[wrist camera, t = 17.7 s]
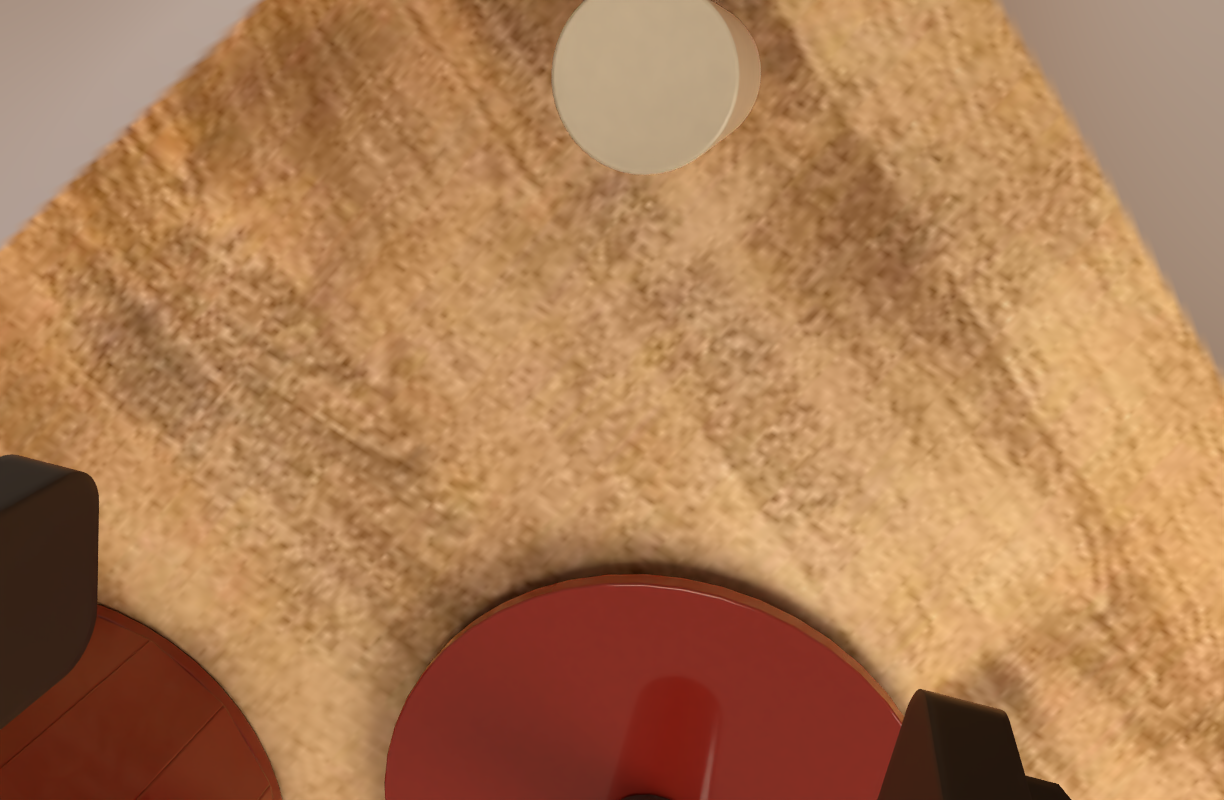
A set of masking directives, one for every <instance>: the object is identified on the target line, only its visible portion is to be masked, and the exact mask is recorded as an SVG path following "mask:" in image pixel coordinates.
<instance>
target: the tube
mask: <svg viewBox="0 0 1224 800" xmlns="http://www.w3.org/2000/svg"><path fill="white" fill-rule="evenodd" d="M760 82H761V63H760V58H759V53H758V50H757V47H756V44H755V42H754V40H753V38H752V36H751V34H750V33H749V31H748V30H747V28H746V27H745V26H744V24H743V23H742V22H741V21H740V20H739V19H738V18H737V17H735V16H734V15H733V14H732V13H730V12H729V11H727V10H726V9H724V8H722V7H721V6H719V5H718V4H716V3H715V2H713V1H711V0H584V1H583V2H582V3H581V4H580V5H579V6H578V7H577V8H576V9H575V11H574V12H573V13H572V15H571V16H570V18H569V19H568V20H567V22H566V24H565V26H564V28H563V29H562V31H561V34H560V36H559V39H558V41H557V44H556V48H555V51H554V55H553V62H552V90H553V97H554V101H555V105H556V108H557V111H558V114H559V116H560V119H561V121H562V123H563V125H564V127H565V128H566V130H567V132H568V133H569V135H570V136H571V137H572V139H573V140H574V141H575V142H576V144H577V145H578V146H579V147H580V148H581V149H582V150H583V151H584V152H586V153H587V154H588V155H589V156H590V157H592V158H593V159H595V160H596V161H598V162H599V163H601V164H603V165H605V166H607V167H609V168H611V169H614V170H617V171H620V172H623V173H629V174H634V175H654V174H661V173H666V172H670V171H673V170H676V169H678V168H681V167H683V166H685V165H687V164H689V163H691V162H693V161H694V160H696V159H697V158H698V157H700V156H701V155H702V154H704V153H705V152H707V151H708V150H709V149H711V148H712V147H713V146H715V145H716V144H717V143H719V142H720V141H721V140H723V139H724V138H725V137H727V136H728V135H729V134H731V133H732V132H733V131H735V130H736V129H737V128H738V127H739V126H740V125H741V124H742V122H743V121H744V120H745V119H746V118H747V116H748V114H749V113H750V111H751V110H752V108H753V106H754V103H755V101H756V98H757V95H758V92H759V87H760Z"/></svg>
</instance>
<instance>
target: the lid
mask: <svg viewBox="0 0 1224 800" xmlns="http://www.w3.org/2000/svg"><path fill="white" fill-rule="evenodd" d="M903 719H904V716H903V715H902V713H901V712H900V710H899V709H898V708H897V706H896V705H895V703H894V702H893V701H892V699H891V698H890V696H889V695H888V694H887V692H886V691H885V690H884V689H883V688H882V687H881V686H880V685H879V684H878V683H877V682H876V681H875V679H874V678H873V677H872V676H871V675H870V674H869V673H868V672H867V671H866V670H865V669H864V668H863V667H862V666H861V664H859V663H858V662H857V661H856V660H854V659H853V658H852V657H851V656H850V655H848V654H847V653H846V652H845V651H844V650H842V649H841V648H840V647H839V646H838V645H836V644H835V643H834V642H833V641H832V640H830V639H829V638H827V637H826V636H824V635H823V634H821V633H820V632H818V631H817V630H815V629H813V628H812V627H810V626H809V625H807V624H806V623H804V622H803V621H801V620H800V619H798V618H796V617H794V616H792V615H790V614H788V613H786V612H784V611H782V610H780V609H778V608H776V607H774V606H772V605H770V604H768V603H766V602H764V601H762V600H759V599H756V598H753V597H750V596H748V595H745V594H742V593H739V592H736V591H733V590H731V589H728V588H725V587H722V586H717V585H713V584H708V583H704V582H699V581H695V580H690V579H686V578H679V577H669V576H660V575H650V574H612V575H600V576H593V577H586V578H579V579H572V580H567V581H564V582H560V583H556V584H553V585H549V586H545V587H542V588H538V589H535V590H532V591H530V592H528V593H525V594H523V595H520V596H518V597H516V598H513V599H511V600H509V601H506V602H504V603H502V604H500V605H499V606H497V607H495V608H494V609H492V610H490V611H489V612H487V613H485V614H484V615H482V616H481V617H479V618H477V619H476V620H474V621H473V622H472V623H470V624H469V625H468V626H467V627H466V628H464V629H463V630H462V631H461V632H459V633H458V634H457V635H456V636H455V637H453V638H452V639H451V640H450V641H449V642H448V643H447V644H446V645H445V646H444V648H443V649H442V650H441V651H440V652H439V653H438V654H437V655H436V657H435V658H434V659H433V660H432V661H431V662H430V663H429V665H428V666H427V668H426V669H425V671H424V672H423V674H422V675H421V677H420V678H419V680H418V682H417V683H416V685H415V686H414V688H413V689H412V691H411V692H410V694H409V696H408V697H407V699H406V701H405V703H404V706H403V708H402V710H401V713H400V715H399V717H398V720H397V722H396V724H395V727H394V731H393V735H392V739H391V742H390V746H389V750H388V754H387V764H386V774H385V800H877V799H878V796H879V793H880V790H881V787H882V784H883V781H884V777H885V774H886V771H887V768H888V765H889V762H890V759H891V756H892V753H893V750H894V747H895V744H896V741H897V738H898V735H899V731H900V728H901V725H902V722H903Z"/></svg>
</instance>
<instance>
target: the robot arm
mask: <svg viewBox="0 0 1224 800" xmlns="http://www.w3.org/2000/svg"><path fill="white" fill-rule="evenodd" d="M98 526H99V495H98V490H97V486H96V484H95V482H94V480H93V479H92V477H91V476H89V475H88V474H87V473H84V472H81V471H77V470H73V469H69V468H65V467H62V466H58V465H54V464H50V463H46V462H42V461H38V460H34V459H30V458H27V457H23V456H19V455H5V456H2V457H0V730H1V729H2V728H3V727H5V726H6V725H7V724H8V723H9V722H11V721H12V720H13V719H14V718H15V717H17V716H18V715H19V714H20V713H21V712H23V711H24V710H25V709H26V708H28V707H29V706H30V705H31V704H32V703H34V702H35V701H36V700H37V699H38V698H40V697H41V696H42V695H43V694H44V693H46V692H47V691H48V690H49V689H51V688H52V687H53V686H54V685H55V684H57V683H58V682H59V681H60V680H61V679H63V678H64V677H65V676H66V675H67V674H68V673H69V672H70V671H71V670H72V669H73V668H74V667H75V665H76V664H77V663H78V661H79V660H80V658H81V657H82V655H83V653H84V651H85V650H86V648H87V646H88V643H89V641H90V639H91V636H92V633H93V630H94V626H95V622H96V617H97V588H98ZM877 800H1071V799H1070V798H1069V796H1068V795H1067V794H1066V793H1065V792H1064V790H1063V789H1062V788H1061V787H1060V785H1059V784H1056V783H1052V782H1048V781H1044V780H1041V779H1037V778H1033V777H1029V776H1025V773H1024V769H1023V766H1022V762H1021V759H1020V756H1019V752H1018V749H1017V745H1016V742H1015V738H1014V735H1013V731H1012V728H1011V725H1010V721H1009V718H1008V716H1007V714H1006V713H1005V712H1004V711H1003V710H1000V709H997V708H993V707H989V706H985V705H981V704H977V703H973V702H969V701H965V700H961V699H958V698H954V697H950V696H946V695H942V694H938V693H934V692H930V691H926V690H922V689H919V690H917V691H916V692H915V694H914V695H913V697H912V699H911V700H910V703H909V705H908V708H907V710H906V713H905V716H904V719H903V722H902V725H901V728H900V731H899V735H898V738H897V741H896V744H895V747H894V750H893V753H892V756H891V759H890V762H889V765H888V768H887V771H886V774H885V777H884V781H883V784H882V787H881V790H880V793H879V796H878V799H877Z"/></svg>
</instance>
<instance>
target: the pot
mask: <svg viewBox="0 0 1224 800" xmlns="http://www.w3.org/2000/svg"><path fill="white" fill-rule="evenodd" d="M0 800H282V797H281V792H280V788H279V785H278V782H277V780H276V777H275V774H274V771H273V769H272V766H271V763H270V761H269V759H268V757H267V755H266V753H265V751H264V749H263V747H262V745H261V743H260V741H259V739H258V737H257V735H256V733H255V732H254V730H253V729H252V727H251V726H250V724H249V723H248V721H247V720H246V718H245V717H244V715H243V714H242V712H241V711H240V709H239V708H238V707H237V706H236V704H235V703H234V702H233V701H232V699H231V698H230V697H229V696H228V695H227V693H226V692H225V691H224V690H223V689H222V687H221V686H220V685H219V684H218V683H217V682H216V681H215V680H214V679H213V678H212V677H211V676H210V675H209V674H208V673H207V672H206V671H205V670H204V669H203V668H202V667H201V666H200V665H199V664H198V663H197V662H195V661H194V660H193V659H192V658H190V657H189V656H188V655H186V654H185V653H184V652H183V651H181V650H180V649H179V648H178V647H176V646H175V645H174V644H173V643H171V642H170V641H168V640H167V639H165V638H164V637H162V636H160V635H159V634H157V633H156V632H154V631H153V630H151V629H150V628H148V627H146V626H145V625H143V624H141V623H139V622H137V621H135V620H133V619H131V618H129V617H127V616H125V615H123V614H121V613H119V612H117V611H114V610H111V609H109V608H106V607H103V606H101V605H98V604H97V617H96V622H95V626H94V630H93V633H92V636H91V639H90V641H89V643H88V646H87V648H86V650H85V651H84V653H83V655H82V657H81V658H80V660H79V661H78V663H77V664H76V665H75V667H74V668H73V669H72V670H71V671H70V672H69V673H68V674H67V675H66V676H65V677H64V678H63V679H61V680H60V681H59V682H58V683H57V684H55V685H54V686H53V687H52V688H51V689H49V690H48V691H47V692H46V693H44V694H43V695H42V696H41V697H40V698H38V699H37V700H36V701H35V702H34V703H32V704H31V705H30V706H29V707H28V708H26V709H25V710H24V711H23V712H21V713H20V714H19V715H18V716H17V717H15V718H14V719H13V720H12V721H11V722H9V723H8V724H7V725H6V726H5V727H3V728H2V729H1V730H0Z"/></svg>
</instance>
